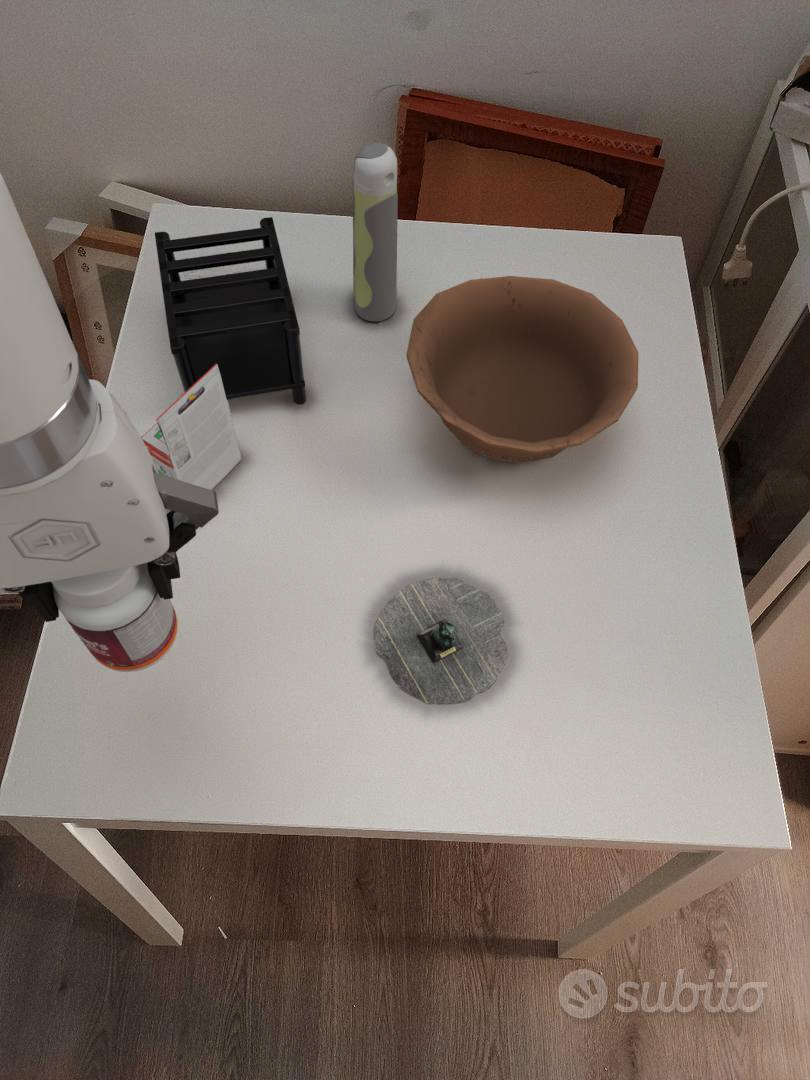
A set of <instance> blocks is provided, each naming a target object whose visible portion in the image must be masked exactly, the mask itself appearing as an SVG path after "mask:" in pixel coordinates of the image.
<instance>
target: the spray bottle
mask: <svg viewBox="0 0 810 1080" xmlns="http://www.w3.org/2000/svg"><path fill="white" fill-rule="evenodd" d="M353 161H354V162H353V172H352V173H353V179H352V273H353V275H352V276H353V280H352V281H353V282H352V283H353V289H352V292H353V293H352V294H353V295H352V296H353V309H354V311H355V313H356V314H357V315H358V316H359V317H360V318H362V319H363V320H365V321H368V322H372V323H373V322H376V323H377V322H382V321H385V320H387V319H389V318H390V317H392V316H393V315H394V314H395V312H396V309H397V292H398V291H397V288H398V287H397V285H398V283H397V281H398V215H399V214H398V212H399V211H398V209H399V208H398V206H399V205H398V203H399V202H398V201H399V194H398V192H397V189H398V188H397V185H398V159H397V156H396V153H395V152H394V150H393V149H392V148H391V147H390V146H388V145H387V144H385V143H384V142H371V143H369V144H367V145H365V146H363V147H362V148H360V150H359V151H358V152H357V153H356V154H355V157H354V159H353Z"/></svg>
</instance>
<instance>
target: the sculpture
mask: <svg viewBox="0 0 810 1080" xmlns="http://www.w3.org/2000/svg"><path fill="white" fill-rule="evenodd" d="M504 624H505V620H504V617H503V614H502V611H501V610H500V609H499V607H498V605H497V604H496V601H494V600H493V599H492V597H491V595H490V594H488V593H486V592H485V591H482V590H481V589H479V588H477V587H474V586H473V585H471V584H469V583H467V582H466V581H463V580H461V579H459V578H457V577H452V578H451V577H449V578H445V577H444V578H443V577H433V578H430V579H426V580H418V581H415V582H412V583H410V584H408V585H407V586H404V588H403V587H402V588H401V589H400V590H399V591H398V592H396V593H395V594H394V595H393V597H392V598H391V599H389V601H388V602H387V603H386V604H385V606H384V607H383V609H382V610H381V611H380V614H379V616H378V617H377V621H376V623H375V625H374V638H375V639H374V641H375V651H376V653H378V656H379V658H382V659H384V660H386V662H387V667H388V671H389V674H390V676H391V677H392V679H393V680H394V682H395V683H396V684H397V685H398V686H399V689H400V690H402V691H404V692H405V693H407V694H409V695H411V696H412V697H415V698H417V699H418V700H420V701H422V702H423V703H425V704H427V705H431V704H433V705H434V704H436V705H451V704H460V703H463V702H467V701H469V700H471V699H472V698H473V697H474V696H475V695H476V694H478V693H484V692H485V691H486V690H488V689H490V688H491V686H492V685H493V684H494V683H495V682H496V680H497V677H498V675H499V674H500V673H501V671H502V669H503V668H504V666H505V664H506V662H507V658H508V654H509V653H508V651H509V650H508V647H507V645H506V643H505V641H504V639H503V637H502V635H501V632H500V631H501V630H502V628H503V627H504Z"/></svg>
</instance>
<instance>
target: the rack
mask: <svg viewBox="0 0 810 1080" xmlns="http://www.w3.org/2000/svg"><path fill="white" fill-rule="evenodd" d="M259 226H260V227H257V228H256V227H255V228H249V229H240V230H233V231H226V232H219V233H213V234H205V235H197V236H189V237H181V238H175V239H171V237H170V234H169V232H166V231H157V232H154V240H155V245H156V253H157V262H158V269H159V275H160V282H161V283H160V284H161V290H162V297H163V304H164V311H165V320H166V325H167V334H168V341H169V348H170V352H171V354H172V357H173V359H174V362H175V366H176V369H177V373H178V375H179V379H180V383H181V385H182V388H183V392H184V393H185V392H186V391H187V390H188V389H189V388H190V387H192V386H193V385H194V384H195V383H196V382H197V381H198V380H199V379H200V378H201V377H202V376H203V375H204V374H206V373H207V372H208V371H209V370H210V369H211V368H212V367H213V366H214V365H215V364H217V365H218V368H219V372H220V375H221V379H222V383H223V387H224V391H225V395H226V399H227V400H233V399H241V398H247V397H251V396H252V397H253V396H257V395H264V394H270V393H275V392H283V391H289V390H291V393H292V401H293V403H294V404H295V405H297V406H301V405H304V404H305V403H307V392H306V385H307V384H306V380H305V373H304V363H303V353H302V346H301V337H300V336H301V331H300V326H299V322H298V318H297V317H298V316H297V314H296V309H295V304H294V301H293V296H292V292H291V288H290V285H289V281H288V280H289V279H288V276H287V271H286V268H285V264H284V259H283V255H282V251H281V247H280V244H279V243H280V242H279V239H278V235H277V231H276V227H275V223H274V218H273V217H272V216H269V217H263V218H261V219H260V221H259ZM259 241H261V243H262V247H261V248H254V249H246V250H239V251H232V252H231V251H230V252H225V253H218V254H217V253H216V254H211V255H203V256H196V257H195V256H194V257H188V258H181V259H176V257H175V253H176V252H183V251H185V252H186V251H192V250H200V249H206V248H207V249H208V248H213V247H214V248H215V247H222V246H227V245H236V244H243V243H250V242H251V243H252V242H259ZM256 262H264V263H265V268H263V269H255V270H249V271H242V272H241V271H240V272H235V273H228V274H220V275H214V276H208V277H207V276H206V277H199V278H193V279H185V280H182V279H181V276H180V273H185V272H192V271H199V270H207V269H213V268H215V269H216V268H221V267H227V266H228V267H229V266H236V265H242V264H250V263H256Z"/></svg>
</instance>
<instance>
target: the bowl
mask: <svg viewBox="0 0 810 1080" xmlns="http://www.w3.org/2000/svg"><path fill="white" fill-rule="evenodd" d="M406 359H407V363H408V365H409V369H410V372H411V375H412V379H413V382H414V385H415V389H416V392H417V393H418V395H420V396H421V397H422V399H423V400H424V401H425V402H426V403H427V404H428V405H429V406H430V407H431V409H433V411H434V413H436V414H437V415H438V416H439V417H440V420H441V422H442V424H443V425H444V426H445V427H446V428H447V429H448V431H450V432H451V434H452V435H453V436H454V437H455V438H456V439H457V440H458V441H459V443H460V444H462V445H463V446H464V447H466V448H468V449H469V450H472V451H474V452H475V453H478V454H480V455H482V456H483V457H486V458H488V459H489V460H494V461H501V462H508V463H513V464H525V463H531V462H536V461H540V460H542V461H543V460H546V459H547V460H548V459H551V458H553V457H555V456H557V455H558V454H559V453H562V452H563V451H564V450H566V449H568V448H571V447H577V446H581V445H583V444H585V443H586V442H588V441H589V440H591V439H592V438H594V437H596V436H597V435H599V434H601V433H602V432H603V431H606V429H608V428H609V427H611V426H612V425H614V424H616V423H617V422H618V421H619V420H620V418H621V417H622V415H623V413H624V412H625V410H626V408H627V407H628V405H629V403H630V402H631V401H632V398H633V397H634V395H635V394H636V392H637V390H638V386H639V351H638V349H637V347H636V345H635V343H634V341H633V339H632V337H631V334H630V333H629V331H628V329H627V327H626V324H625V323H624V320H623V319H622V318H621V317H619V315H617V314H616V313H615V312H613V311H612V309H610V308H609V307H608V306H607V305H606V304H605V303H604V302H603V301H601V300H600V299H599V298H598V297H597V296H595V294H593V293H591V292H588V291H586V290H583V289H580V288H577V287H575V286H572V285H570V284H567V283H564V282H561V281H559V280H556V279H554V278H553V279H552V278H540V277H528V276H517V275H516V276H515V275H505V276H497V277H495V276H494V277H485V278H474V279H468V280H466V281H464V282H461V283H458V284H457V285H454V286H451V287H449V288H447V289H444V290H442V291H439V292H437V293H435V294H434V295H433V297H432V298H431V299H430V300H429V301H428V302H427V303H426V305H425V306H424V307H423V308H422V309H421V310H420V311H419V312H418V313H417V314H416V316H415V317H414V318H413V321H412V325H411V330H410V336H409V339H408V344H407V350H406Z"/></svg>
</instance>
